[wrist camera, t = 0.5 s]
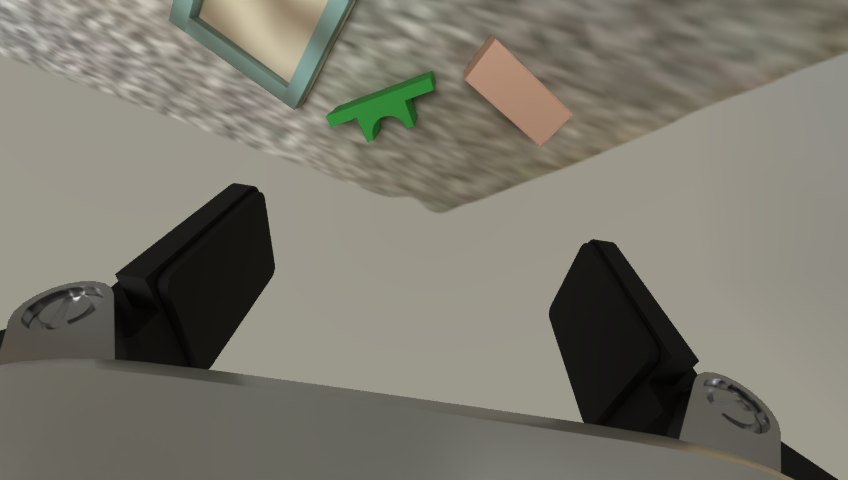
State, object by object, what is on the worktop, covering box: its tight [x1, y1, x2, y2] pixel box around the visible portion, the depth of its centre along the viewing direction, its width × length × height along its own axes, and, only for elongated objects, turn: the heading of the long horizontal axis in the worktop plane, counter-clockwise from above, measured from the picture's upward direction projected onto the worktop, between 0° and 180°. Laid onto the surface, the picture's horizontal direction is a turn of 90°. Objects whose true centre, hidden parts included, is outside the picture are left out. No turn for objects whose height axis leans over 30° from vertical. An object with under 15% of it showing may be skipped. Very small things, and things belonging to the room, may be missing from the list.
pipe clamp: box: [326, 71, 435, 142], centre depth 35 cm, size 11×4×5 cm, turn 109°
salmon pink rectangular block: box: [464, 36, 573, 147], centre depth 33 cm, size 4×10×5 cm, turn 53°
